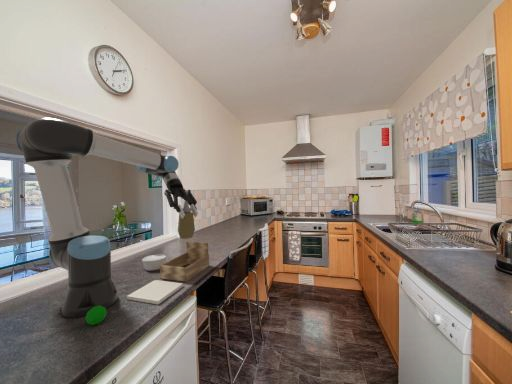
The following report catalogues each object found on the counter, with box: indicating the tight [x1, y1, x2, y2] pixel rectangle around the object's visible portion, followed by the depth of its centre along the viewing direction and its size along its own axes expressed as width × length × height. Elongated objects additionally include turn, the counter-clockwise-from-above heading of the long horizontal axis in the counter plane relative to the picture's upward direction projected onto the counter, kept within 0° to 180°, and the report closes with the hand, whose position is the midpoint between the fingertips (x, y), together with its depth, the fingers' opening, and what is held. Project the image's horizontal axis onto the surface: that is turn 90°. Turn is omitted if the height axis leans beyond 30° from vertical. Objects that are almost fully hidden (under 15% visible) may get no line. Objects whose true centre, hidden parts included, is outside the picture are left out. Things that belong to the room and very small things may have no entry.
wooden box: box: [159, 241, 210, 283], centre depth 100 cm, size 14×20×12 cm
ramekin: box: [141, 254, 167, 272], centre depth 107 cm, size 11×11×5 cm
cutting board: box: [126, 279, 184, 305], centre depth 80 cm, size 14×14×1 cm
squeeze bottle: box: [177, 200, 196, 240], centre depth 101 cm, size 8×8×18 cm
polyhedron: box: [85, 306, 108, 326], centre depth 62 cm, size 5×5×5 cm
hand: (190, 215), depth 98 cm, fingers closed on squeeze bottle, 6 cm apart
